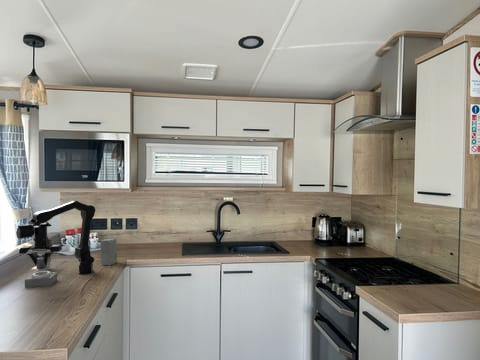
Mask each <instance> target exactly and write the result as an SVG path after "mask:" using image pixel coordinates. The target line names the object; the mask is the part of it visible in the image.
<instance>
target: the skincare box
mask: <svg viewBox="0 0 480 360" xmlns="http://www.w3.org/2000/svg"><path fill="white" fill-rule="evenodd" d="M117 251H118V250H117V238H106V239H105V238H103V239H102V240H100V263H101V266H111V265H115V263H118V258H117V257H118V255H117Z"/></svg>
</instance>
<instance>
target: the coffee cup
mask: <svg viewBox="0 0 480 360" xmlns="http://www.w3.org/2000/svg"><path fill="white" fill-rule="evenodd" d="M51 246H53V245H52V243H51ZM51 246H47V247H51ZM46 252H47V250H45V251H37V255H38V254H45V253H46ZM52 254H53V253H52ZM52 254H51V256H50V258H49V261H48V264H47V265H46V268H44V269H37V270H38V272H40V271H50V269H51V261H52Z"/></svg>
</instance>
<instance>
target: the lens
mask: <svg viewBox="0 0 480 360" xmlns="http://www.w3.org/2000/svg"><path fill="white" fill-rule="evenodd" d="M35 267H36V270H38V269H44V268H46V265H45V254H38V255H36V265H35Z"/></svg>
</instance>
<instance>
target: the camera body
mask: <svg viewBox="0 0 480 360" xmlns="http://www.w3.org/2000/svg"><path fill="white" fill-rule="evenodd" d="M56 281H58V273H57V272H54V271H53V272H51V271H50V270H46V271H37V272H34V273H33V272H32V274H31V275H29V276H28V277H27V278H25V279H24V288H33V287H49V286H53V284H54V283H56Z"/></svg>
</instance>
